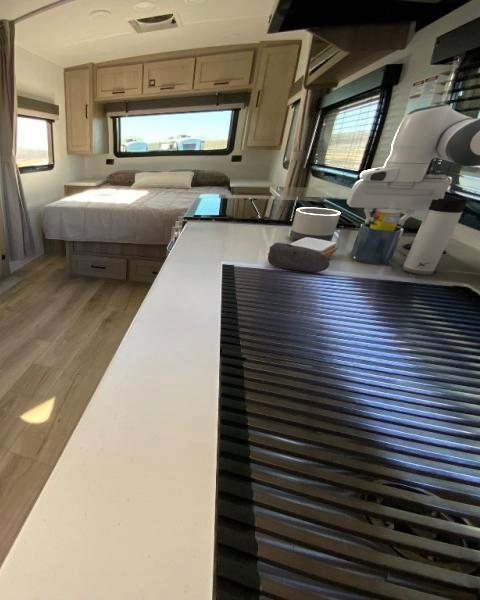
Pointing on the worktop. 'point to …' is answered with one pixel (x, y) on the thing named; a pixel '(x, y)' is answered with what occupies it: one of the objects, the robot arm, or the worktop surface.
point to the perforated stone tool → (297, 258)
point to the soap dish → (317, 245)
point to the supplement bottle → (386, 218)
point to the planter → (314, 223)
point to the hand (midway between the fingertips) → (383, 224)
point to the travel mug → (434, 235)
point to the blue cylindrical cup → (375, 245)
